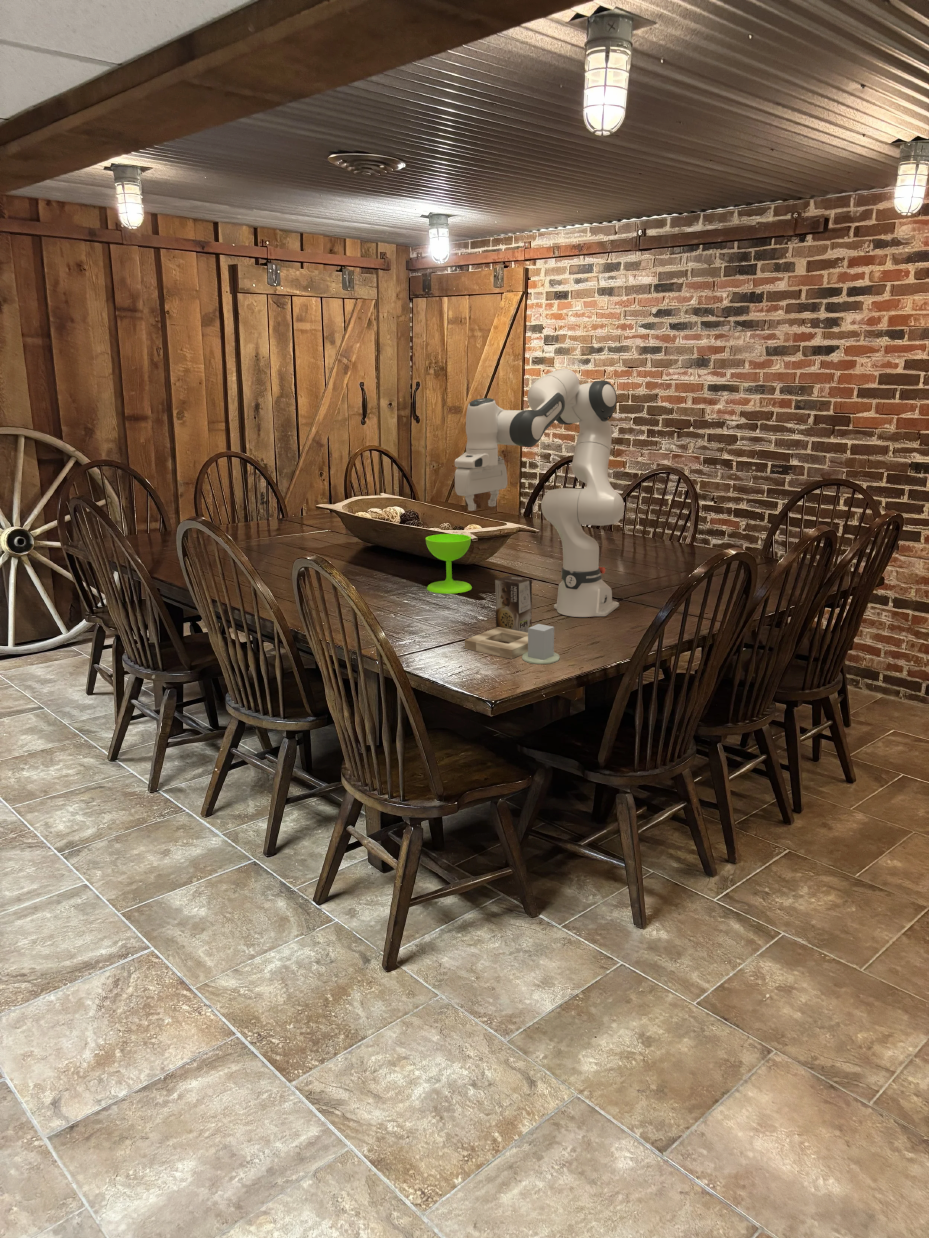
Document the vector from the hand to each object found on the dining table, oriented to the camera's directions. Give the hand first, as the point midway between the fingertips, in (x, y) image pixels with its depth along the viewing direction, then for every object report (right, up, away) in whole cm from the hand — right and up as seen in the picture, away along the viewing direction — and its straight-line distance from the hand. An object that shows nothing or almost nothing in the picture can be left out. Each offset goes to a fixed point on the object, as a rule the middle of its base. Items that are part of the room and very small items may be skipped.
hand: (482, 508), depth 258 cm
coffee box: (+9, -35, +12) cm, 38 cm away
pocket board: (+6, -39, -2) cm, 39 cm away
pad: (+15, -42, -12) cm, 46 cm away
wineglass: (-10, -21, +66) cm, 70 cm away
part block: (+15, -41, -12) cm, 46 cm away
